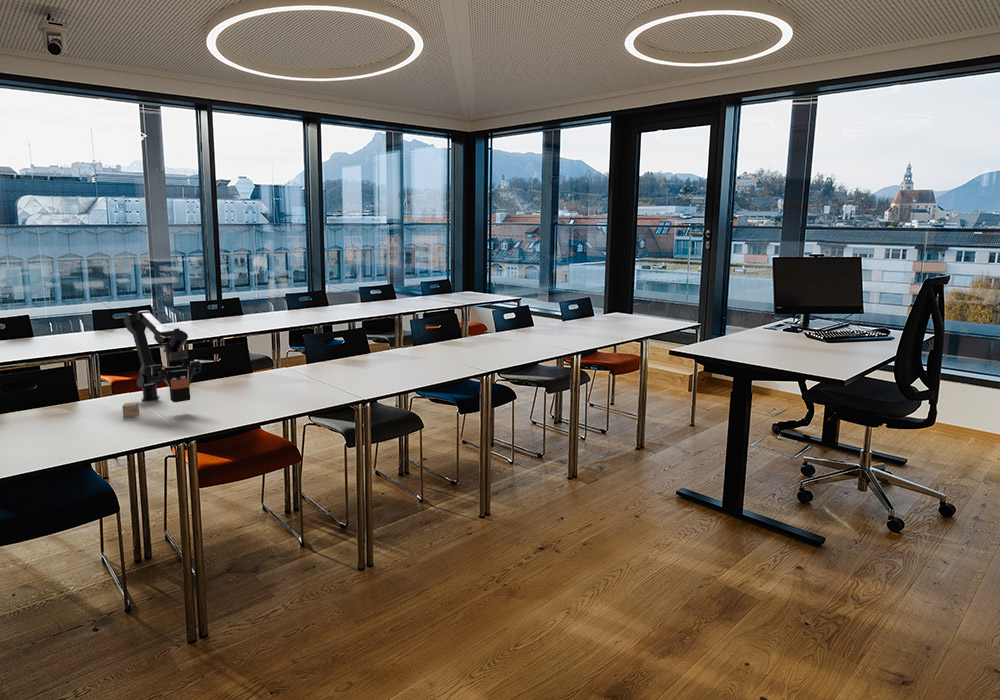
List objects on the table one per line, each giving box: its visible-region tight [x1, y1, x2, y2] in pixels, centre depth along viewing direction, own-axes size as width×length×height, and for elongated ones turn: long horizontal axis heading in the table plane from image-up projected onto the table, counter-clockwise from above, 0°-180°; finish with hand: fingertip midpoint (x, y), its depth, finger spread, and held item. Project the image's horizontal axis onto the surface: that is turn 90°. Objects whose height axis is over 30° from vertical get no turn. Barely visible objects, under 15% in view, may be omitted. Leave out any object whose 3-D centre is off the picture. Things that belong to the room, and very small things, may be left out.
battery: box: [169, 375, 191, 403], centre depth 282 cm, size 4×7×10 cm, turn 130°
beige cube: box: [122, 401, 140, 419], centre depth 278 cm, size 5×5×5 cm
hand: (179, 385), depth 280 cm, fingers closed on battery, 7 cm apart
